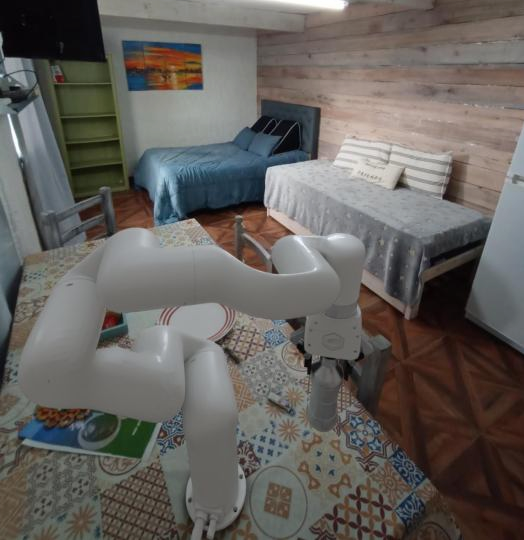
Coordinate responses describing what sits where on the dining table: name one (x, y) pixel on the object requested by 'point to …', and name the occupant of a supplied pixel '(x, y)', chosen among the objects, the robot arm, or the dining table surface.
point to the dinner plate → (200, 319)
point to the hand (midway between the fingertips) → (327, 370)
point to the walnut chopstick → (232, 355)
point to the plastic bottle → (324, 393)
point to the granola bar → (279, 401)
